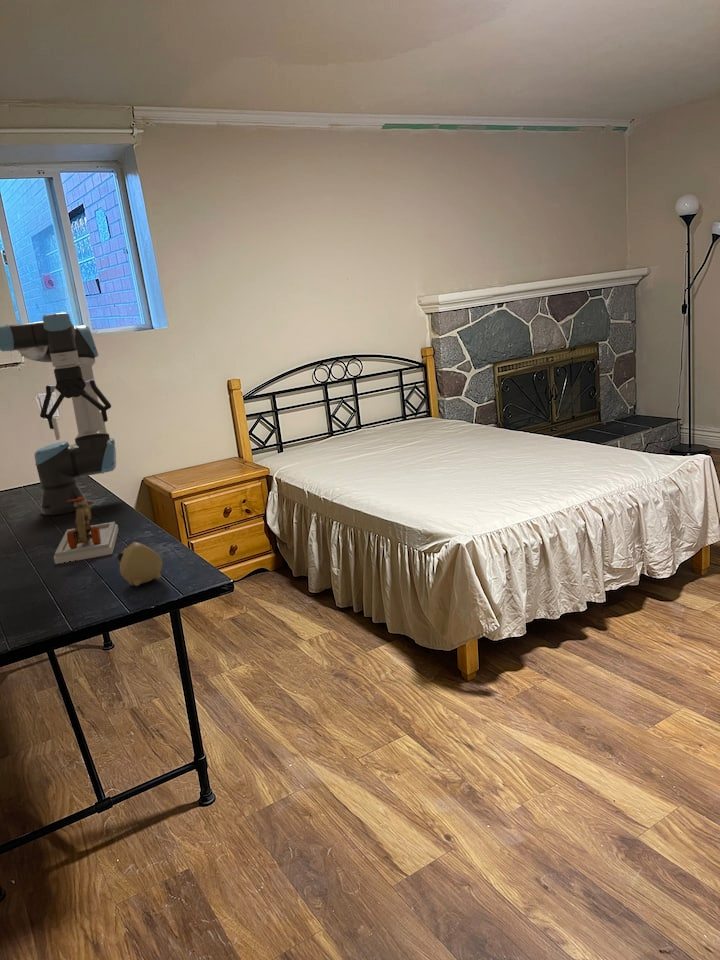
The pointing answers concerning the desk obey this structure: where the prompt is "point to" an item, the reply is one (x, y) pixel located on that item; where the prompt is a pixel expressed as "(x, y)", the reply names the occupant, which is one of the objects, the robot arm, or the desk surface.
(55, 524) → the desk surface
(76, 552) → the plate
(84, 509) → the toy helicopter
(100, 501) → the desk surface
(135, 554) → the toy pig
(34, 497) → the desk surface
